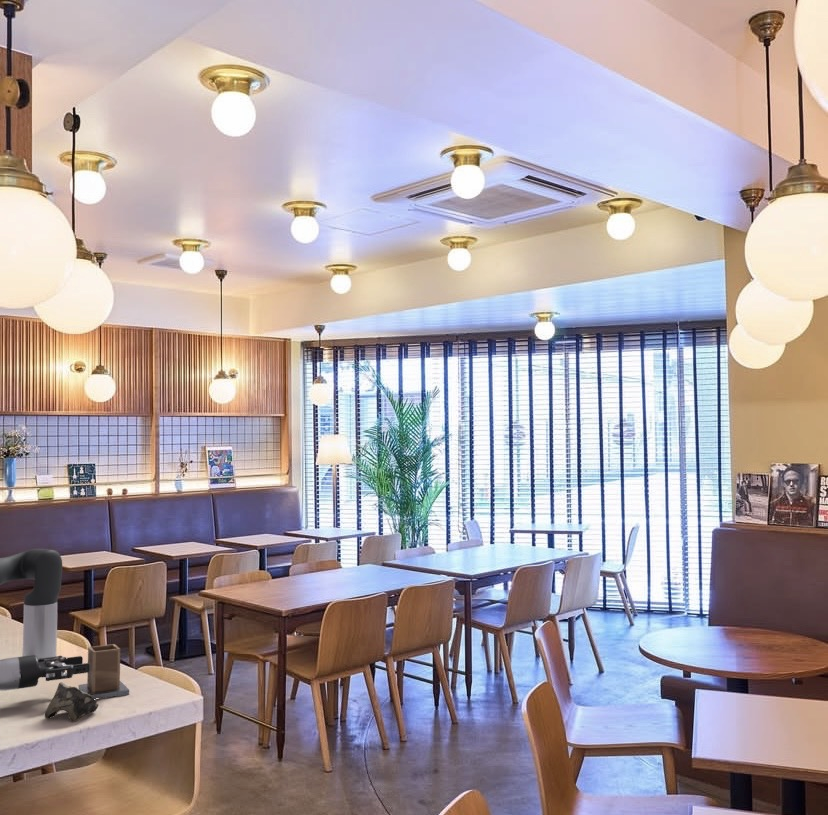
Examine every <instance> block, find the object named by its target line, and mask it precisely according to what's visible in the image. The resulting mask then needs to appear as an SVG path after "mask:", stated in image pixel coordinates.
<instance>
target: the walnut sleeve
mask: <svg viewBox="0 0 828 815" xmlns="http://www.w3.org/2000/svg"><path fill="white" fill-rule="evenodd" d="M87 663H88V664H89V665H90V670H89V672H88V673H87V681H86V682H87V683H86V684H87V687H88V688H89V689H90V690H91V691H92V692H98V691H105V690H112V689H119V688H120V681H121V680H120V678H121V648H120V647H119V646H118V645H117V644H115V643H113V644H111V643H110V644H106V645H105V644H104V645H94V646H88V648H87Z"/></svg>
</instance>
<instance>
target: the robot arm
mask: <svg viewBox="0 0 828 815" xmlns="http://www.w3.org/2000/svg"><path fill="white" fill-rule="evenodd" d="M62 576H63V559H62V557H61V554H60V553H59V552H58V550H57V551H56V550H55V549H49V548H31V549H27V550H25V551H21V552H18V553H16V554H13V555H8V556H5V557H0V586H1V585H3V584H5V583H9V582H14V581H21V580H32V581H33V580H34V581H33V582H34V583H33V589H32V590H31V591H29V592H28V593H26V594H24V597H23V627H22V628H23V629H22V656H16V657H8V658H7V657H6V658H3V659H0V691H2V692H3V691H11V690H19V689H27V688H35V687H36V686H38V684H39V683H38V682H39V679H40V678H45V682H49V681H57V680H65V679H72V678H73V676H74V675H79V674H86V673H87V674H88V672H89V670H90V665H89V664H88V662H87V663H84V662H83V656H81V655H77V656H71V657H67V656H63V655H58V656H57V645H58V644H57V639H58V637H57V636H58V598H59V595H60V593H61V589H62V578H63V577H62Z"/></svg>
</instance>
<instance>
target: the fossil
mask: <svg viewBox="0 0 828 815" xmlns="http://www.w3.org/2000/svg"><path fill="white" fill-rule="evenodd" d="M98 707H99V703H98V702H97V700H94V699H93V697H92V696H91V695H89V694H87V693H85V692H83V691H82V690H79V687H77V686H71V685H70V686H68V685H66V684H65V683H64V682H62V681H60V682H59V683H58V685H57V688H56V690H55V692H54V695H53V697H52V700H51V701H50V703H49V704H48V706H47V708H46V710H45V712H44V718H45V719H47V720H48V719H51V718H54V717H55V716H56V715H57V714H58V713H59V712H60V711H64V712H67V718H68V719H69V720H70V722H71V723H76V722H77V721H78V720H79V719H80V718H82V716H85V715H88V714H90V713H93V712H96V710H97V709H98ZM53 716H54V717H53ZM50 717H51V718H50Z"/></svg>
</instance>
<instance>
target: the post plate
mask: <svg viewBox="0 0 828 815" xmlns="http://www.w3.org/2000/svg"><path fill="white" fill-rule="evenodd" d="M78 689H79V690H82V691H83V692H85V693H87V694H89V695H91V696H92V697H93V699H96V698H103V699H106V698H105V697H110V698H113V697H112V696H116V697H119V696H118V695H123V696H127V695H126V694H129V695H130V689H129V688H128V687H127V686H126V685H125V684H124V683H123V682H122V681H121V680H120V688H119V689H112V690H105V691H98V692H92V691H91V690H90V689H89V688H88V687H87V683H83V684H78Z"/></svg>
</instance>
